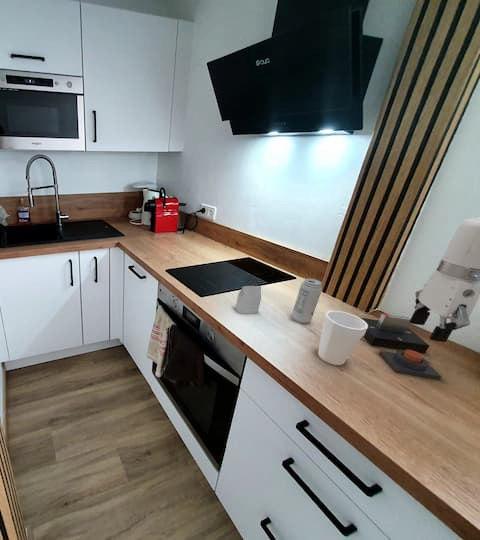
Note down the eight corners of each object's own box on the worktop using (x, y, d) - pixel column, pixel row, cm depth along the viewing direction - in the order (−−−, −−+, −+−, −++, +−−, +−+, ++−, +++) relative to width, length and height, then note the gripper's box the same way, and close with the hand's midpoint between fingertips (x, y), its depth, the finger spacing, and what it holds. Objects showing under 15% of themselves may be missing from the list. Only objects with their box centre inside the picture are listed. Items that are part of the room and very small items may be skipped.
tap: (401, 330, 91) (408, 316, 89) (404, 333, 89) (411, 319, 87) (375, 326, 93) (382, 312, 90) (378, 329, 91) (385, 315, 89)
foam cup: (356, 361, 81) (373, 322, 76) (343, 373, 77) (360, 334, 71) (320, 343, 89) (333, 307, 83) (305, 354, 84) (319, 316, 78)
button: (414, 355, 80) (417, 350, 80) (423, 364, 77) (426, 359, 76) (399, 353, 81) (402, 348, 80) (408, 361, 78) (410, 356, 77)
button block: (418, 359, 83) (423, 351, 81) (439, 379, 76) (445, 371, 74) (378, 353, 85) (382, 345, 84) (395, 372, 78) (400, 363, 76)
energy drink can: (312, 325, 97) (326, 286, 91) (293, 322, 99) (305, 283, 93) (307, 316, 103) (320, 279, 97) (289, 313, 104) (300, 276, 98)
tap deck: (399, 330, 96) (403, 322, 95) (425, 353, 85) (430, 345, 84) (352, 324, 99) (355, 316, 98) (371, 345, 88) (375, 337, 87)
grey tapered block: (257, 313, 104) (263, 288, 100) (239, 313, 103) (245, 288, 100) (252, 307, 107) (258, 284, 103) (235, 308, 107) (240, 284, 103)
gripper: (515, 288, 60) (471, 355, 67) (450, 259, 75) (420, 316, 83) (472, 283, 61) (433, 349, 69) (416, 256, 77) (389, 312, 84)
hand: (426, 331), depth 75 cm, fingers open, 7 cm apart
